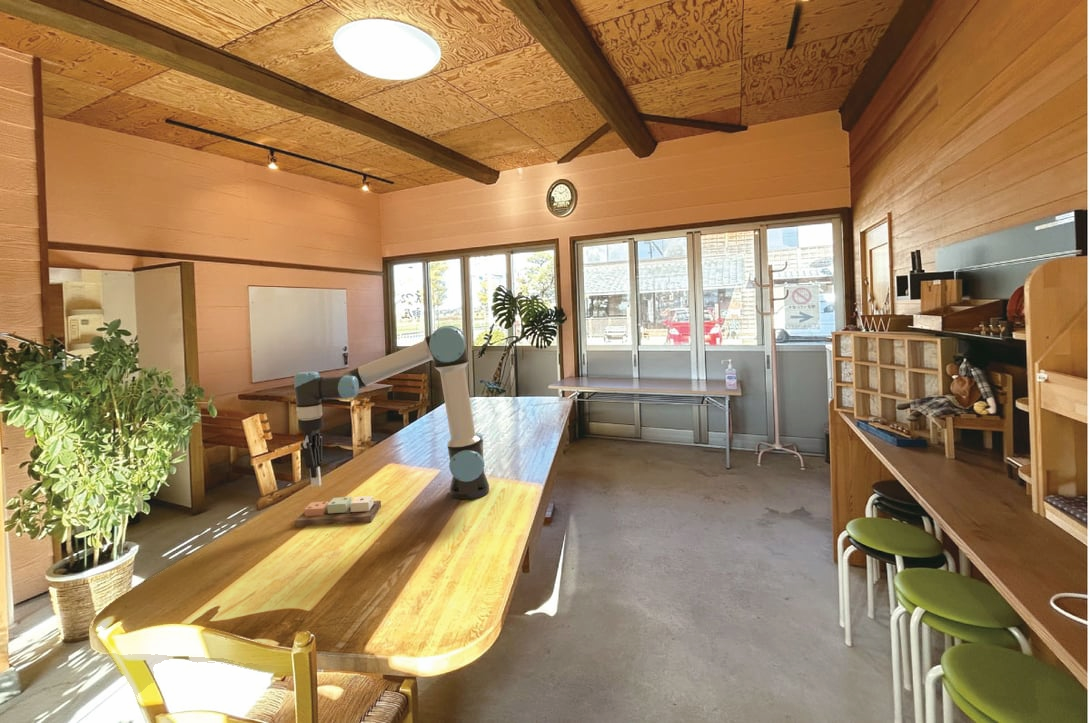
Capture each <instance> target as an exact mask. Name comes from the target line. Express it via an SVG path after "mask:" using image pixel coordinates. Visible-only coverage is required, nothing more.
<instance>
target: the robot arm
mask: <svg viewBox="0 0 1090 723" xmlns="http://www.w3.org/2000/svg"><path fill="white" fill-rule="evenodd" d="M466 344H467V341H466V336H465V334H464V332H463V331H462V330H461V329H460V328H459V327H456V326H454V325H443V326H440V327H438V328H437V329H435V331H433V333H432V334H430V335H427V336H425V337H424V338H423V340H422V341H420V342H417V343H415V344H412V345H410V346H407V347H406V348H402V349H401V350H398V351H394V352H393V353H391V354H388V355H385V356H383V357H380V358H379V359H376V360H373V361H371V362H369V363H366V364H363V365H361V366H358V367H357V368H353V369H351V370H348V371H345V372H344V373H342V374H339V375H337V376H325V377H324V376H320V373H319V372H318V371H302V372H301V371H300V372H298V373H296V374H294V377H293V378H294V382H293V383H294V385H293V387H294V393H295V405H296V408H295V411H296V414H297V419H298V420H297V426H298V431H300V432H303V442H300V447H301V449H302V453H303V458H304V463H305V468H306V469H308V470H309V476H310V487H311V488H315V487H316V488H317V487H321V486H322V477H321V467H320V466H323V439H324V438H323V437H324V433H320V430H321V429H323V428H324V418H323V417H322V416H323V414H324V413H323V406H322V400H337V399H338V400H339V399H346V400H347V399H351V398H356V397H357V396H358V395H359V392H360V390H361V389H364V388H366V387H368V386H370V385H373V384H375V383H377V382H378V383H379V382H381V381H383V380H386V379H388V378H391V377H392V376H394V375H395V376H396V375H398V374H400V373H403V372H405V371H408V370H410V369H413V368H415V367H418V366H420V365H423V364H424V363H427V362H430V361H433V367H434V369H436V370H437V371H438V372H439V373H440V380H441V386H442V393H443V398H444V405H445V409H446V410H445V411H446V416H447V417H446V418H447V423H448V430H449V435H450V439H449V441H447V444H446V446H447V451H448V456H449V457H448V458H449V464H448V465H449V466H448V468H449V471H450V473H451V475H452V478H451V482H450V485H449V496H450V497H452V498H454V499H457V500H474V499H477V498H481V497H484V496H486V495H487V494H489V493H490V484H489V481H488V479H487V476H486V474H485V458H484V443H483V442H484V439H483V438H484V437H483V434H482V433H479V432H476V430H475V426H474V425H475V424H474V418H473V411H472V406H471V405H472V404H471V400H470V398H471V397H470V393H469V385H468V379H467V374H466V367H467V365H468V364H469V358H468V352H467V345H466Z"/></svg>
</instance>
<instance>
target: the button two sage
mask: <svg viewBox="0 0 1090 723" xmlns="http://www.w3.org/2000/svg"><path fill="white" fill-rule="evenodd" d="M352 501H353V499H352V496H346V497H345V496H343V497H332V499H331V500H330V501H329V503H328V505H327V509H328V513H344V512H347V511H348V509H349V508H350V503H351V502H352Z"/></svg>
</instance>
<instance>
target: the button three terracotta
mask: <svg viewBox="0 0 1090 723" xmlns="http://www.w3.org/2000/svg"><path fill="white" fill-rule="evenodd" d="M329 502H330V501H312V502H310V503H308V505H307V506H306V507H305V508H304V509H303V511H304V512H303V513H305V516H318V515H325V514H326V513H327V511H328V509H327V505H328V503H329Z"/></svg>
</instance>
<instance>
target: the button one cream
mask: <svg viewBox="0 0 1090 723" xmlns="http://www.w3.org/2000/svg"><path fill="white" fill-rule="evenodd" d="M374 501H375V500H374V495H362V496H355V497H354V498H353V499H352V502H351V503H350V508H351V512H360V511H369V510H370V509H371V507H372V506H373V504H374Z"/></svg>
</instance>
